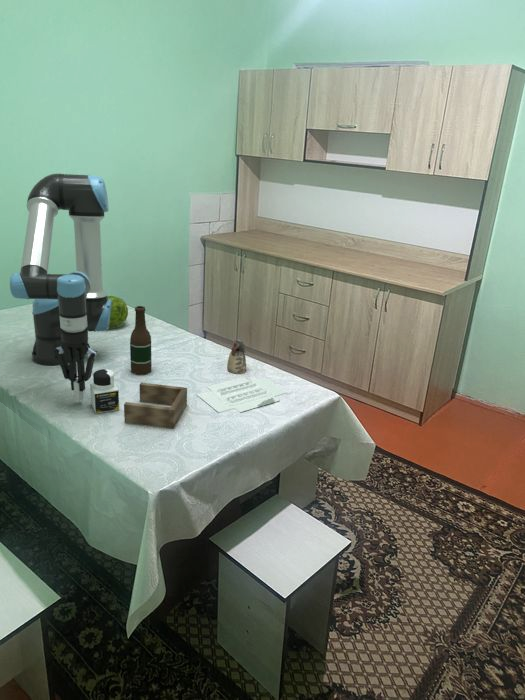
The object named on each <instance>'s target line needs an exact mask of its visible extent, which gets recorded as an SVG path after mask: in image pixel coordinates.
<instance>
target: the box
mask: <svg viewBox="0 0 525 700" xmlns="http://www.w3.org/2000/svg"><path fill="white" fill-rule="evenodd" d="M138 385H139V386H138V387H139V402H140V403H137V402H129V401H128V402H127V401H125V402H124V404H123V415H124V416H123V418H124V423H128V424H135V425H142V426H143V425H145V426H153V427H160V428H168V429H175V427H176V426H177V424H178V422H179V421H180V419H181V417H182V415H183V413H184V411H185V410H186V408H187V405H188V387H184V386H183V387H182V386H174V385H166V384H158V383H151V382H150V383H149V382H148V383H147V382H140V383H139V384H138ZM141 402H143V403H144V404H143V403H141ZM146 403H152V404H146ZM155 404H158V405H155ZM160 404H161V405H162V406H161V405H160ZM163 405H167V406H163Z"/></svg>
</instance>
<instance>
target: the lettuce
mask: <svg viewBox="0 0 525 700" xmlns="http://www.w3.org/2000/svg"><path fill="white" fill-rule="evenodd" d="M107 299H110V300H111V301H112V303H111V315H110V322H109V327H108V328H111V329H112V328H118V327H120V326H122V325H123V324H124V323H125V322H126V321H127V318H128V315H129V309H128V305H127V304H126V302H125V300H123V299H122V298H120V297H118V296H114V295H107Z"/></svg>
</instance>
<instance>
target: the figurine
mask: <svg viewBox="0 0 525 700" xmlns="http://www.w3.org/2000/svg"><path fill="white" fill-rule="evenodd" d="M232 343H233V345H232V347H231V351H230V353H229V356H228V359H227V362H226V365H227V366H226V367H227V371H228V372H229V373H232V374H237V375H240V374H241V375H242V374H245V373H246V372H247V371H246V370H247V360H246V359H247V358H246V354H245V353H247V350H245V343H244V341H242V340H240V339H236V340H234V341H233V342H232Z"/></svg>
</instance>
